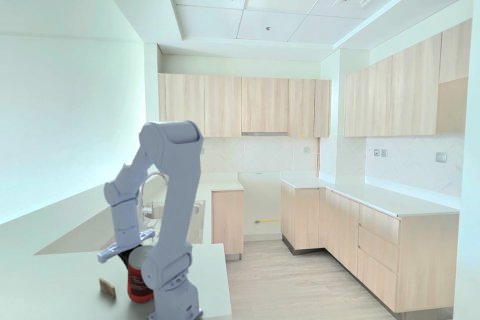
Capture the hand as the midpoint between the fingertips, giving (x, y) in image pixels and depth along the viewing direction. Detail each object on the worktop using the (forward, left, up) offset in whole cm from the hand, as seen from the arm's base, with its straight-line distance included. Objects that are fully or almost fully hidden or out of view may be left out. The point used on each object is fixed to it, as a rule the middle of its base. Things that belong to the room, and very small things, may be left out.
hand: (132, 272), depth 60 cm
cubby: (+5, 0, -4) cm, 6 cm away
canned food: (-4, 0, -4) cm, 5 cm away
